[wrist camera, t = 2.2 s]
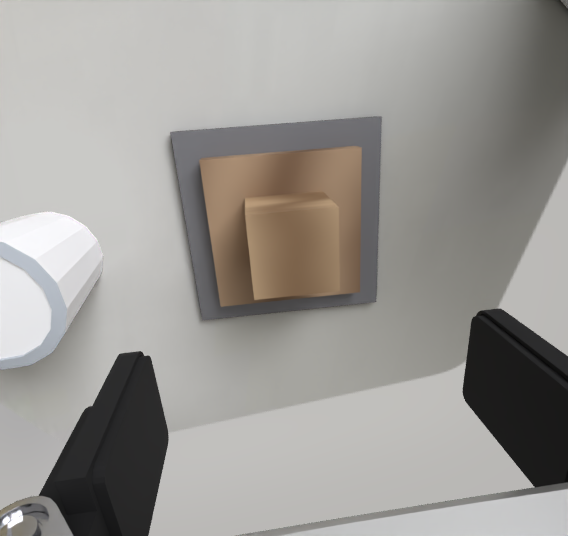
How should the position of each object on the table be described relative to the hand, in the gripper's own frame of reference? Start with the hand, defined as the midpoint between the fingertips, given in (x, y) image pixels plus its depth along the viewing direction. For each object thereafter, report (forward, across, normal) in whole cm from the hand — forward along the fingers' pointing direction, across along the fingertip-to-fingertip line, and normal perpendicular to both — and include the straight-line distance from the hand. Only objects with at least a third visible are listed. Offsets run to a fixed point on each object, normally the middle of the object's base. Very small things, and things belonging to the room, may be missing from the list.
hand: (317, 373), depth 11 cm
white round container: (+15, +14, 0) cm, 20 cm away
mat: (+15, -1, -1) cm, 15 cm away
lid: (+14, -1, -1) cm, 14 cm away
